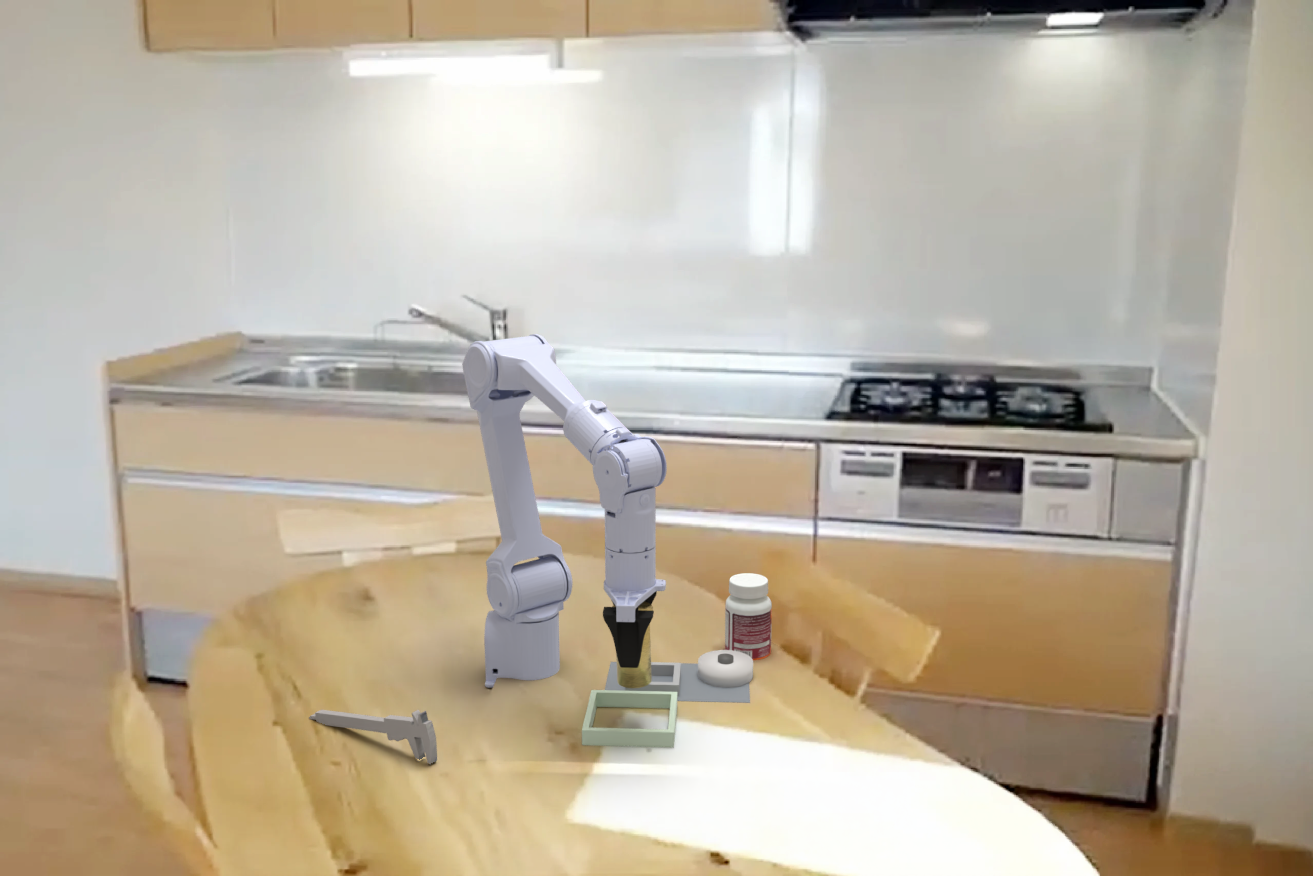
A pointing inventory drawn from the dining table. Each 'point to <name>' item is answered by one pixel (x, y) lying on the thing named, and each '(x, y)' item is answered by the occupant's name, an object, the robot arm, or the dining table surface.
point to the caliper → (389, 728)
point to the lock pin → (643, 672)
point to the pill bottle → (748, 616)
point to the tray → (627, 734)
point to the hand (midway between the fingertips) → (630, 657)
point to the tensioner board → (699, 678)
